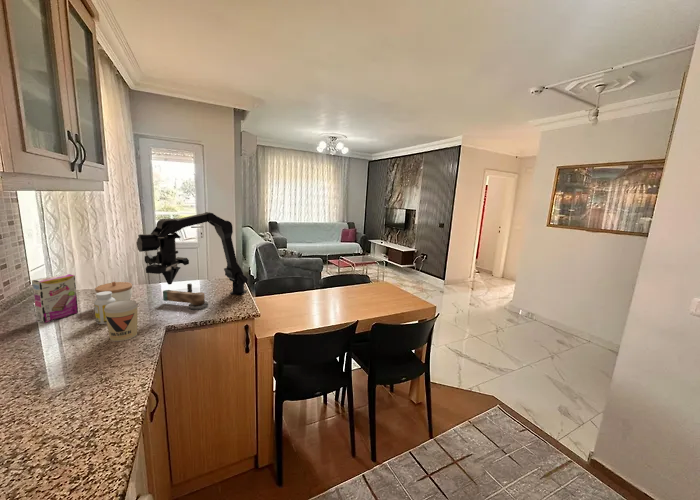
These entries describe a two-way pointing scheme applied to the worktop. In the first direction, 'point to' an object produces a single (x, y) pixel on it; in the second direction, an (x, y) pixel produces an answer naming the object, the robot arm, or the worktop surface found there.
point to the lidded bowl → (117, 290)
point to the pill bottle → (102, 305)
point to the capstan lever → (184, 297)
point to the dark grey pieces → (194, 307)
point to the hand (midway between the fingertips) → (169, 284)
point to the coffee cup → (121, 319)
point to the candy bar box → (55, 297)
